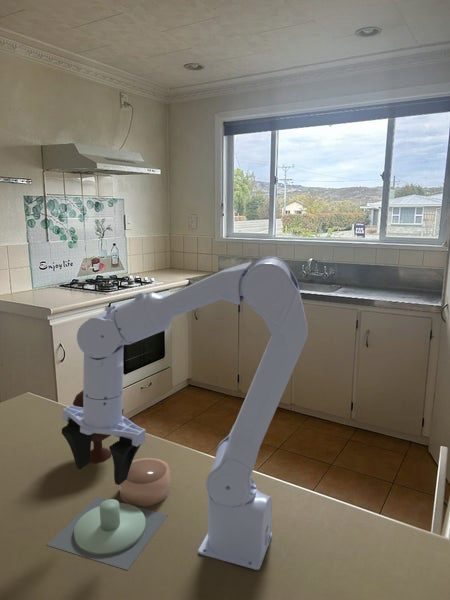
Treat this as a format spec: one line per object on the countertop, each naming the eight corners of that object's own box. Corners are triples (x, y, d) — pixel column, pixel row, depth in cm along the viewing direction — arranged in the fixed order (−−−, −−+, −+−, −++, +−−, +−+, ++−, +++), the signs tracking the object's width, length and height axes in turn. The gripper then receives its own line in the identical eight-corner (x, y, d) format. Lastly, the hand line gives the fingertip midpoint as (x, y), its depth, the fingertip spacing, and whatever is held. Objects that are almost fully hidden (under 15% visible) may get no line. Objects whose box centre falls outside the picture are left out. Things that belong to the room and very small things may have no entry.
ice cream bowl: (112, 474, 87) (109, 401, 84) (59, 467, 89) (55, 396, 86) (133, 446, 97) (131, 381, 94) (86, 441, 99) (82, 376, 97)
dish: (178, 482, 85) (178, 463, 84) (155, 511, 76) (154, 490, 75) (136, 473, 87) (135, 454, 87) (109, 500, 79) (108, 479, 78)
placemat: (168, 516, 75) (168, 514, 75) (127, 571, 64) (127, 570, 63) (97, 497, 80) (97, 496, 80) (47, 546, 68) (47, 545, 68)
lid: (157, 515, 75) (157, 492, 74) (121, 563, 65) (120, 537, 64) (101, 501, 79) (100, 479, 78) (58, 544, 68) (57, 519, 68)
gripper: (47, 389, 67) (47, 471, 70) (125, 414, 61) (122, 503, 64) (81, 375, 73) (80, 451, 76) (155, 396, 67) (151, 478, 70)
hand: (101, 473), depth 70 cm, fingers open, 7 cm apart
